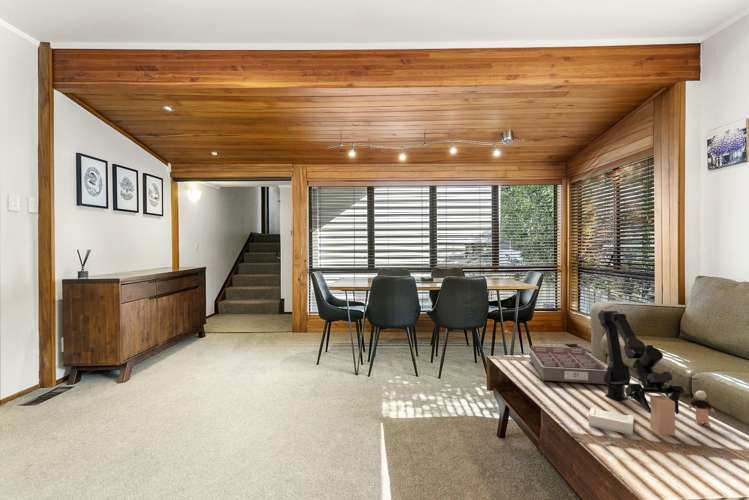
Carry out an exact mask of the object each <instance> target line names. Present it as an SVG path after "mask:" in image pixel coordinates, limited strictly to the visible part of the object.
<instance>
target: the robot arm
mask: <svg viewBox="0 0 749 500" xmlns="http://www.w3.org/2000/svg"><path fill="white" fill-rule="evenodd" d="M597 317H598V320H599V322H600V323H599V324H600V326H602V327H603V329H604V330H605V335H606V336H605V337H606V343H607V348H608V355H609V363H608V365H607V366H606V367H607V373H606V375H605V376H604V382H605V383H607V384H606V385H607V394H605V395H604V396H605V397H607V398H610V399H611V400H615V401H624V400H628V399H629V398H630V399H632V400H634V401H635V402H637V403H638V404H639V405H641V407H643V409H645V411H646V412H648V413H649V414H650V413H651V409H650V403H649V402H648V400H647V398H646V394H663V395H665V396H666V397H667V398H669V399H671V400H672V401H674V402H675V415H678V414H679V411H680V409H679V399H680V398H681V397H682V396H683V395H684V394H685V393H686V390H685V389H684V387H683V385H680V384H669V385H668V387H664V386H665V385H666V384H667V383H669V382H670V381H673V376H672V373H671V372H670V371H662V372H660V373H659V372H655V370H654V368H655V367H656V366H657V365H658V364H659V363H660V362H661V361H662V359H663V357H664V355H663V354H664V353H663V352H662V351H661V350H660V349H658V348H657V347H654V346H653V344H647V345H645V343H644V342H643V341H641V340H640V339H638V337H637V336H636V334H635V332H634V330H633V329H632V326H631V325H630V323H629V322H628V319H627V315H626V313H623V312H618V311H617V310H616V309H615V310H613V309H611V310H610V309H601V310H600V311H599V312H598V314H597ZM619 335H620V337H621V338H622V340H623V342H624V346H623V350H624V353H625V356H626V357H627V358H628V359H631V360H635V361H633V364H632V366H631V367H632V369H635V370H636V372H637V376H638V379H637V380H638V382H639V383H632V382H631V383H630V381H631V373H630V368H629V367H630V366H629V365H626V364H625V362H624V360H623V357H622V356H623V355H622V350H621V343H620V337H619ZM640 383H641V384H640ZM625 386H627V387H626V388H625Z"/></svg>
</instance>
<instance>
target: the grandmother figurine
mask: <svg viewBox="0 0 749 500" xmlns="http://www.w3.org/2000/svg"><path fill="white" fill-rule="evenodd" d="M694 396H695V397H696V398H697V399H695V400H692V401H691V402H690V403H689V405H688V406H687V407H688V409H692V408H693V407H695V424H696V425H698V426H705V427H710V426H711V423H710V417H709V411H710V413H712V414H715V412H716V411H715V410H714V408H713V406H712V405H711V404H710V403H709V401H707V400H706V399H707V393H706V392H705V391H704V390H697V391H696V392H695V393H694ZM708 409H709V410H708Z"/></svg>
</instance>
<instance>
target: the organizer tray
mask: <svg viewBox="0 0 749 500" xmlns="http://www.w3.org/2000/svg"><path fill="white" fill-rule="evenodd" d="M528 350H529V360H530V362H531V364H532V365H533V367H534V368H535V370H536V371H537V373H538V374H539V376H540V377H541V379H542V381H552V382H553V381H555V382H568V383H586V384H600V385H601V384H603V385H608V384H607V383H605V382H604V376H605V375H606V373H607V367H608V366H606V365H605V364H604V363H602V361H600V360H599V359H597V358H596V357H594V356H593V354H591V353H589V352H588V351H587V350H586V348H585V347H564V346H547V345H546V346H545V345H530V347H529V348H528Z"/></svg>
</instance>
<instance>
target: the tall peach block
mask: <svg viewBox="0 0 749 500" xmlns="http://www.w3.org/2000/svg"><path fill="white" fill-rule="evenodd" d="M649 406H650V409H651V413H649V415H650V416H649V417H650V418H649V419H650V420H649V423H650V426H649V427H650V428H651V429H652V430H653V431H654V432H656V433H657V434H658V435H660V436H673V437H675V436H676V413H675V402H674V401H672V400H671V399H669V397H667V396H666V395H652V394H651V395H650V396H649Z"/></svg>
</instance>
